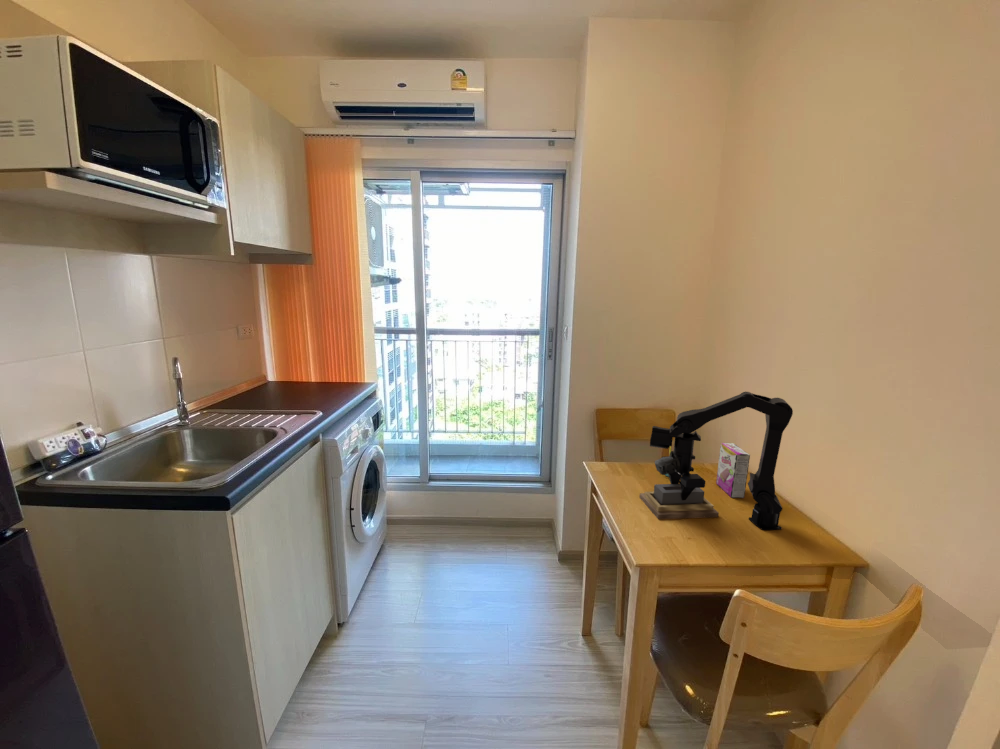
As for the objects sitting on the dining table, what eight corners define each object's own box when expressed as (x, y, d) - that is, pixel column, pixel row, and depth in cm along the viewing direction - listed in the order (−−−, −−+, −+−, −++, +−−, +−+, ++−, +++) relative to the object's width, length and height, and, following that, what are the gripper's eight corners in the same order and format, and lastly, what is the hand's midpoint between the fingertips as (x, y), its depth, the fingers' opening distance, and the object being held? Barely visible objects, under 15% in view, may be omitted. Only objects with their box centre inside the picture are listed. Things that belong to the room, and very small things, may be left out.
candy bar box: (714, 483, 155) (720, 442, 152) (728, 484, 155) (733, 442, 152) (730, 498, 144) (736, 454, 141) (745, 498, 144) (751, 454, 141)
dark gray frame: (693, 494, 140) (694, 483, 140) (703, 503, 134) (704, 491, 134) (653, 495, 139) (654, 484, 138) (661, 504, 133) (662, 492, 133)
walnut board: (694, 495, 145) (695, 488, 144) (718, 517, 131) (719, 508, 131) (639, 497, 143) (640, 489, 143) (657, 518, 130) (658, 510, 129)
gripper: (646, 441, 142) (643, 483, 145) (673, 463, 124) (668, 510, 127) (677, 440, 143) (673, 482, 146) (708, 462, 125) (703, 509, 128)
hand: (678, 495), depth 137 cm, fingers open, 6 cm apart
